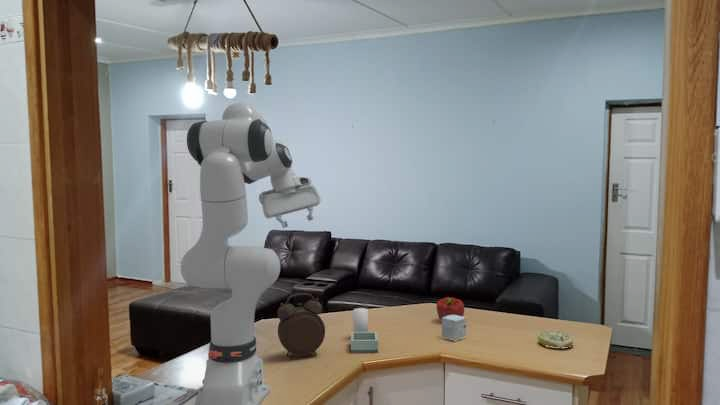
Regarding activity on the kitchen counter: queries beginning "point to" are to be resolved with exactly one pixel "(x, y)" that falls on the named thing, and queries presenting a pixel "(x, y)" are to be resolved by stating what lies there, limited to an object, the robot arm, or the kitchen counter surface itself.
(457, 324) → the skincare box
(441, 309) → the vegetable
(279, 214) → the robot arm
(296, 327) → the alarm clock
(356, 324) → the cylinder
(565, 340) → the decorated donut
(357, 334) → the teal open box
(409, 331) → the kitchen counter surface
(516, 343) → the kitchen counter surface
